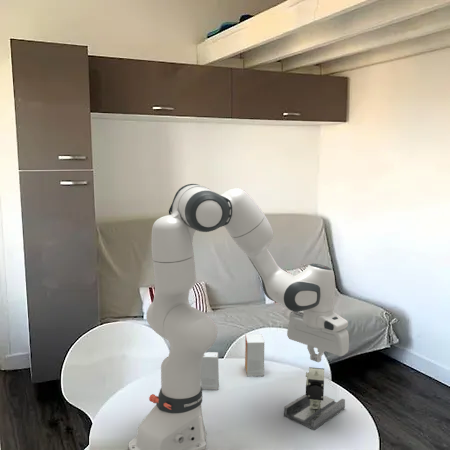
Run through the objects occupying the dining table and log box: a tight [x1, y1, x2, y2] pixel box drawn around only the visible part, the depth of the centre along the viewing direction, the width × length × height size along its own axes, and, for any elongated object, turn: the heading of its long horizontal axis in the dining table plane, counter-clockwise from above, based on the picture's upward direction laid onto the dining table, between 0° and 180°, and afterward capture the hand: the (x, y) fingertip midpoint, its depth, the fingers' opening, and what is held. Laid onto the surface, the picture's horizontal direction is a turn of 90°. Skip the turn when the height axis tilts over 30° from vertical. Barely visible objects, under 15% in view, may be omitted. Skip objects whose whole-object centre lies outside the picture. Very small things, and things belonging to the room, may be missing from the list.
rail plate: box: [283, 393, 346, 431], centre depth 158 cm, size 17×11×3 cm, turn 136°
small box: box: [244, 333, 265, 377], centre depth 185 cm, size 8×6×13 cm
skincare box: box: [201, 351, 220, 391], centre depth 173 cm, size 6×4×12 cm
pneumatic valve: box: [305, 366, 325, 410], centre depth 158 cm, size 6×12×12 cm, turn 168°
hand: (315, 360), depth 156 cm, fingers closed
